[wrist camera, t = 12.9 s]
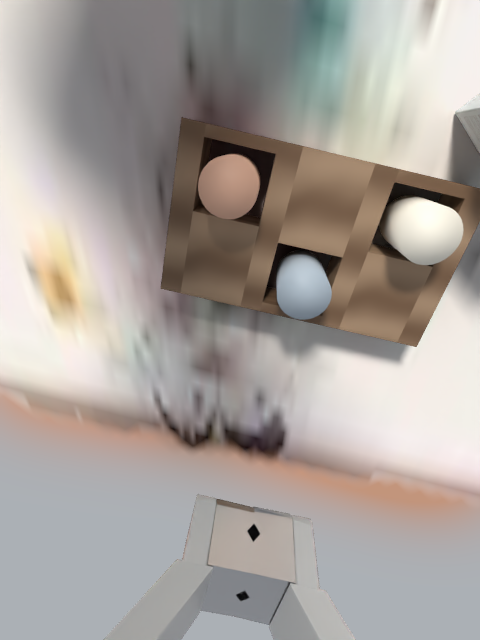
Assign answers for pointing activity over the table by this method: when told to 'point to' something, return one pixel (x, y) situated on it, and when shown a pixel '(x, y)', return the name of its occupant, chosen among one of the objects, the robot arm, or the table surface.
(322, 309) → the key slate
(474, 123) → the supplement box
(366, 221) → the tray
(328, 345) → the table surface
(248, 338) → the table surface
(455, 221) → the cream egg-shaped piece
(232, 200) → the tan rounded short cylinder
